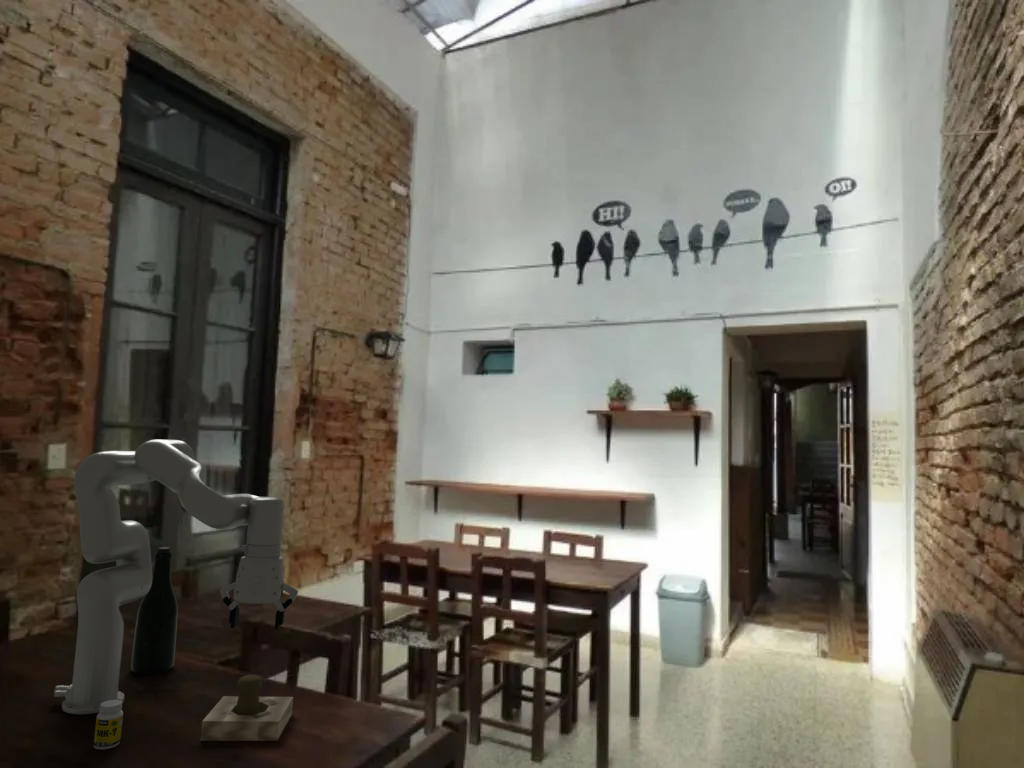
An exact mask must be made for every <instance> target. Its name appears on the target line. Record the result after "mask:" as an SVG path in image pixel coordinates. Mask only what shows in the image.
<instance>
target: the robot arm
mask: <svg viewBox="0 0 1024 768" xmlns="http://www.w3.org/2000/svg"><path fill="white" fill-rule="evenodd" d="M206 476H207V470H206V467H205V466H204V465H203V464H201V463H200V462H198V461H197V460H196V459H195V454H194V451H193V449H192V447H191V446H190V444H188V443H187V442H185V441H183V440H179V439H163V438H162V439H161V438H160V439H158V438H157V439H155V438H154V439H150V440H146V441H145V442H142V443H141V444H139V446H137V448H136V449H135V450H102V451H97V452H95V453H92V454H90V455H88V456H87V457H85V458H84V459H83V460H82V461H81V462H80V463H79V465H78V466H77V468H76V469H75V473H74V477H73V488H74V492H75V493H74V494H75V497H76V501H77V506H78V519H79V520H78V522H79V534H80V535H79V536H80V537H79V538H80V547H81V554H82V557H83V558H84V560H86V562H87V563H89V564H95V565H96V564H97V565H98V564H105V563H110V562H111V563H112V562H115V563H116V565H115V566H111V567H107V568H102V569H101V568H100V569H97V570H94V571H93V572H90V573H89V574H87V575H86V576H84V577H83V578H82V580H81V581H80V582H79V584H78V586H77V590H76V601H77V603H76V604H77V609H78V611H77V612H78V614H77V616H78V625H77V634H76V644H75V653H74V654H75V656H74V663H73V673H72V680H71V681H72V683H71V684H70V685H65V684H61V685H59V684H58V685H56V686H55V688H54V690H53V691H54V694H53V696H54V697H55V698H64V699H65V700H63V702H62V703H61V711H63V712H65V713H66V714H70V715H92V714H99V713H100V712H99V711H100V704H101V703H103V702H105V701H108V700H121V701H122V704H123V703H124V702H125V697H126V696H125V694H124V692H122V691H120V690H119V684H120V682H119V680H120V671H121V662H122V656H123V655H122V652H123V644H124V643H123V642H124V631H125V622H124V618H123V615H122V612H121V609H120V606H123V605H126V604H128V603H132V602H136V601H138V600H141V599H143V598H144V596H145V595H146V594H147V593H148V592H149V590H150V588H151V585H152V575H153V566H152V565H153V564H152V555H151V554H152V553H151V544H150V543H151V542H150V536H149V533H148V531H147V529H146V528H145V527H144V525H143V524H142V523H140V521H139V522H138V521H136V520H131V519H130V520H129V519H127V520H121V519H122V518H121V513H120V512H121V510H120V509H121V508H120V503H119V499H118V498H117V496H116V494H115V493H114V491H113V490H112V489H111V487H113V486H126V485H128V486H129V485H141V484H146V483H150V482H154V481H157V482H159V483H160V484H161V485H163V486H165V487H166V488H167V489H169V490H170V491H173V493H175V494H177V496H178V500H179V502H180V504H181V506H182V508H183V509H184V510H185V511H186V513H188V514H189V515H191V516H192V517H193V518H194V519H196V520H198V521H199V522H201V523H202V524H204V525H205V526H207V527H210V528H211V529H215V530H225V529H232V528H238V527H243V526H247V530H246V531H247V533H246V543H244V544H243V545H241V544H240V545H239V549H238V551H239V552H243V553H244V555H243V556H241V557H240V560H239V563H238V567H237V570H236V571H237V572H236V577H235V581H234V582H232V583H230V584H228V585H226V586H223V587H222V588H220V589H219V594H220V596H221V598H222V601H223V603H224V604H225V605H226V607H228V608H227V609H228V610H229V619H228V620H229V621H228V624H230V628H231V629H235V628H236V627H237V626H238V625H239V619H240V618H239V617H240V606H239V605H240V604H255V605H256V604H257V605H258V604H259V605H260V604H261V605H262V604H263V605H264V604H265V605H272V604H274V606H275V607H276V609H277V611H275V620H274V630H279V629H280V628H281V626H283V624H284V622H285V611H286V609H287V608H288V607H289V606H290V605H291V604H292V603H293V602H294V600H296V598H297V596H298V594H299V590H298V589H296V588H295V587H292V586H291V585H289V584H287V583H285V581H284V580H285V579H284V578H285V575H284V574H285V573H284V562H283V561H284V560H283V556H280V555H281V546H282V545H281V543H282V533H283V522H284V511H285V502H284V500H283V499H282V498H279V497H275V496H257V495H254V494H250V493H233V494H225V495H222V494H220V493H218V492H217V491H215V490H213V489H212V488H210V487H209V486H207V485H206V484H205V483H204V482H205V479H206ZM232 590H233V598H232V596H230V594H229V592H230V591H232ZM284 592H286V593H288V594H289V596H288V598H287V600H285V601H284V600H283V595H284Z"/></svg>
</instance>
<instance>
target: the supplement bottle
mask: <svg viewBox="0 0 1024 768" xmlns="http://www.w3.org/2000/svg"><path fill="white" fill-rule="evenodd" d="M122 709H123V703H122V701H121V700H108V701H105V702H103V703H101V704H100V711H99V713H97V715H96V719H95V729H94V739H93V748H94V749H96V750H100V751H101V750H102V751H103V750H109V749H113V748H115V747H117V746H118V745H120V743H121V737H122V730H123V729H122V728H123V718H124V712H123V710H122Z"/></svg>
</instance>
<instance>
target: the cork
mask: <svg viewBox="0 0 1024 768" xmlns="http://www.w3.org/2000/svg"><path fill="white" fill-rule="evenodd" d="M262 681H263V680H262V678H261V676H259V675H257V674H246V675H244V676H241V677H240V678H239V680H238V681H237V686H236V687H237V692H238V701H237V706H236V710H235V714H237V715H255V714H258V713H260V710H259V697H260V695H259V694H260V692H259V691H260V689H261V688H262V685H263V683H262Z"/></svg>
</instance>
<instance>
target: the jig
mask: <svg viewBox="0 0 1024 768" xmlns="http://www.w3.org/2000/svg"><path fill="white" fill-rule="evenodd" d="M238 696H239V695H238ZM238 696H237V695H236V696H235V695H234V696H233V695H232V696H228V695H227V696H226V695H225V696H224V695H223V696H222V697H221V699H220V700H219V701H218V702H217V703H216V705H215V706H213V708H212V709H211V710H210V711H209V713H208V714H207V715H206V716H205V717H204V718H203V720H202V721H201V732H200V740H199V741H201V742H204V741H205V742H206V741H210V742H211V741H212V742H217V741H220V742H222V741H223V742H225V741H226V742H229V741H230V742H231V741H233V742H238V741H241V742H242V741H243V742H244V741H247V742H250V741H253V742H257V741H260V742H265V741H266V742H268V741H269V742H274V741H275V742H277V741H278V740H279V739H280V738H281V735H282V734H283V731H284V730H285V728H286V726H287V724H288V722H289V721H290V718H291V717H292V716H293V707H294V706H293V704H294V697H293V696H259V710H260V713H258V714H255V715H237V714H235V710H236V706H237V701H238Z"/></svg>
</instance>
